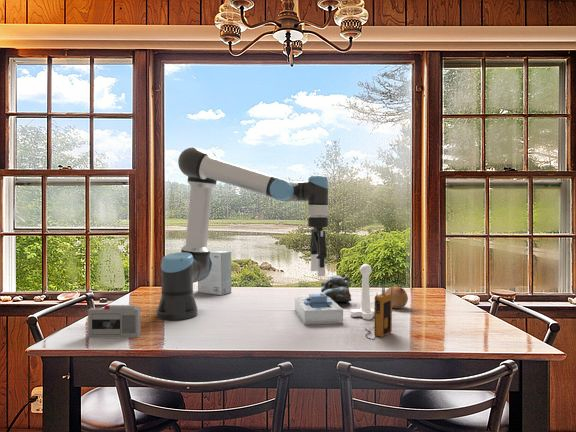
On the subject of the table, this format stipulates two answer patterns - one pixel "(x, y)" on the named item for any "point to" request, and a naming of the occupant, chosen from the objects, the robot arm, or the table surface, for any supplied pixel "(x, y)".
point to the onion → (398, 297)
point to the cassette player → (114, 321)
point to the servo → (317, 300)
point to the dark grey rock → (337, 288)
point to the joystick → (364, 295)
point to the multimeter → (382, 313)
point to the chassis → (318, 312)
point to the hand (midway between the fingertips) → (317, 273)
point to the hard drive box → (218, 275)
